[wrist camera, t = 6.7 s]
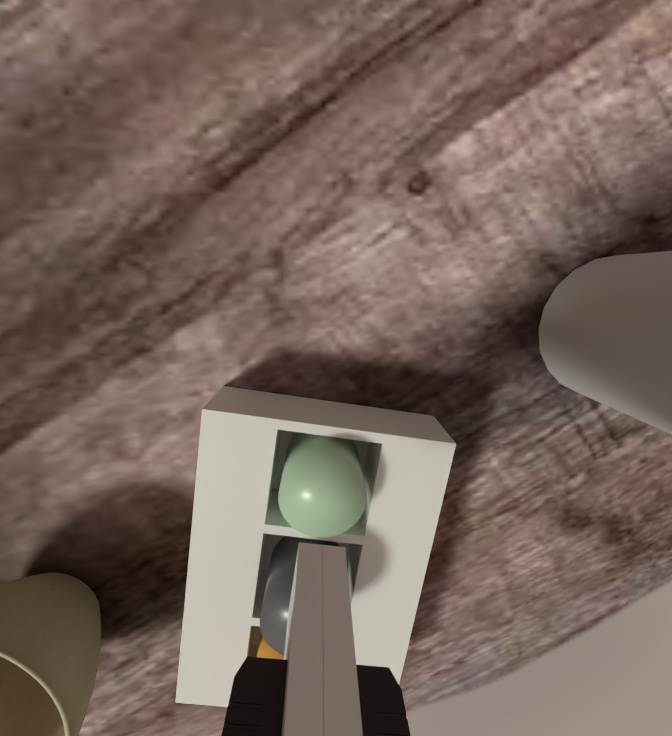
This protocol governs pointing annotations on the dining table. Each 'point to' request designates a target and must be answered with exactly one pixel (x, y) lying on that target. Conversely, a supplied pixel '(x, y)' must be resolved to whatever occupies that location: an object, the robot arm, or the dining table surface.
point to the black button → (281, 590)
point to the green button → (322, 485)
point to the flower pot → (47, 654)
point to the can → (615, 334)
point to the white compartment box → (267, 527)
